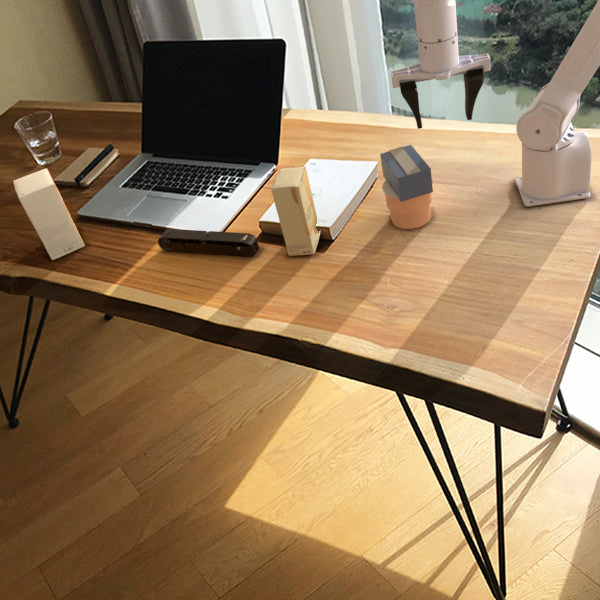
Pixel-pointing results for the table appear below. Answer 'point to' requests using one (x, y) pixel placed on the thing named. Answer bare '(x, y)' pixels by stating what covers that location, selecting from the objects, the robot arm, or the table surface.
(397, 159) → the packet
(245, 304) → the table surface
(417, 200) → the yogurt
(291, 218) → the cosmetic box
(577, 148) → the robot arm
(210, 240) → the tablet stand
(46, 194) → the small box
